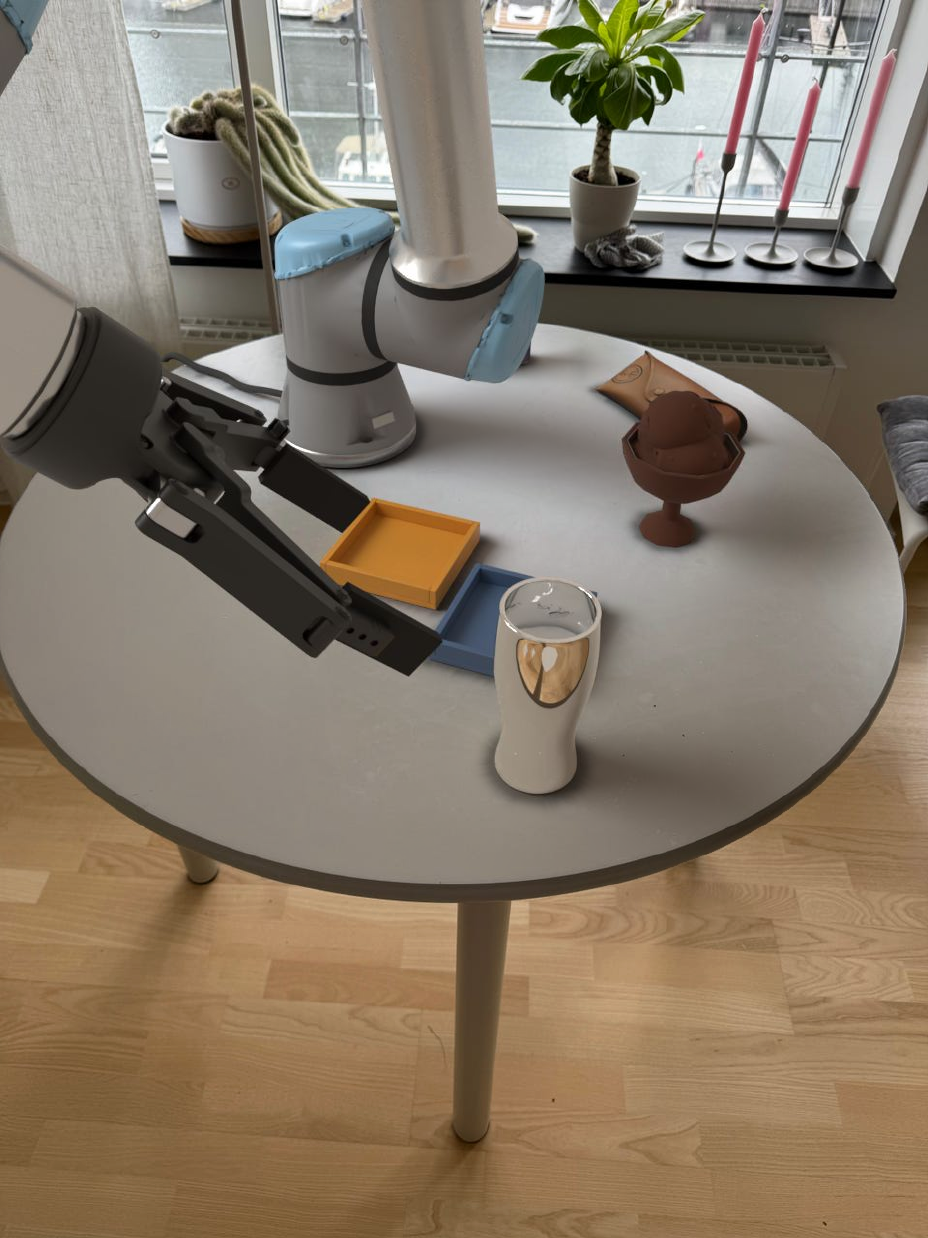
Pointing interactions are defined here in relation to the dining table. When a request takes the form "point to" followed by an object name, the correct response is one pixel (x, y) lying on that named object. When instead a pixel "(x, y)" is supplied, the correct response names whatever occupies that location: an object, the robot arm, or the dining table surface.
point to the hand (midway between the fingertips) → (386, 578)
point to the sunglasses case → (664, 391)
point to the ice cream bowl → (679, 461)
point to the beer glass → (543, 679)
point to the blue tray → (475, 619)
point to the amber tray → (402, 552)
